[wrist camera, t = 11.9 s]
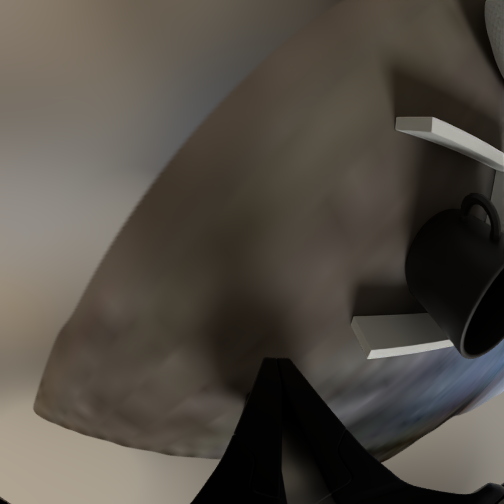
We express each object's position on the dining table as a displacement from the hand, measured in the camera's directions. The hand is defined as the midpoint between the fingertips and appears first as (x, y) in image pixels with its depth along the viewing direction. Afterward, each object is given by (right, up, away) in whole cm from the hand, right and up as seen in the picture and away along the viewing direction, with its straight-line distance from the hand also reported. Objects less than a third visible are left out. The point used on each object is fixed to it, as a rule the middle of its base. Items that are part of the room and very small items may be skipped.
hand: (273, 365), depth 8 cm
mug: (+17, +5, +12) cm, 21 cm away
